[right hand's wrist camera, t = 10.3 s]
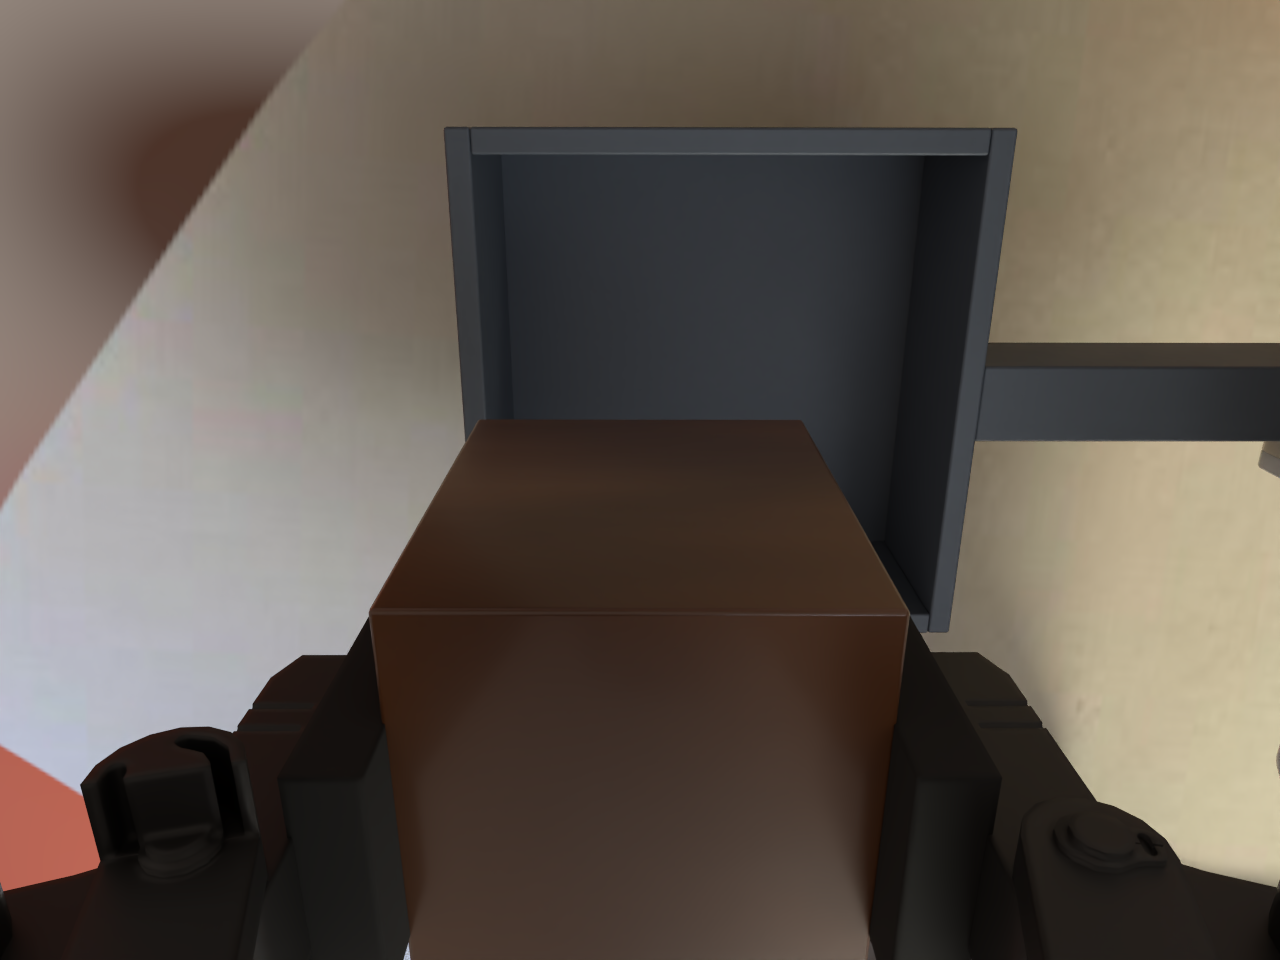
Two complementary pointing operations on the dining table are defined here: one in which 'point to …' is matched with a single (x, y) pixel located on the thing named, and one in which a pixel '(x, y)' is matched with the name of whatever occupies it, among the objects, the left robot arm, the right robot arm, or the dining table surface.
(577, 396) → the scoop
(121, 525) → the dining table surface
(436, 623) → the walnut block
